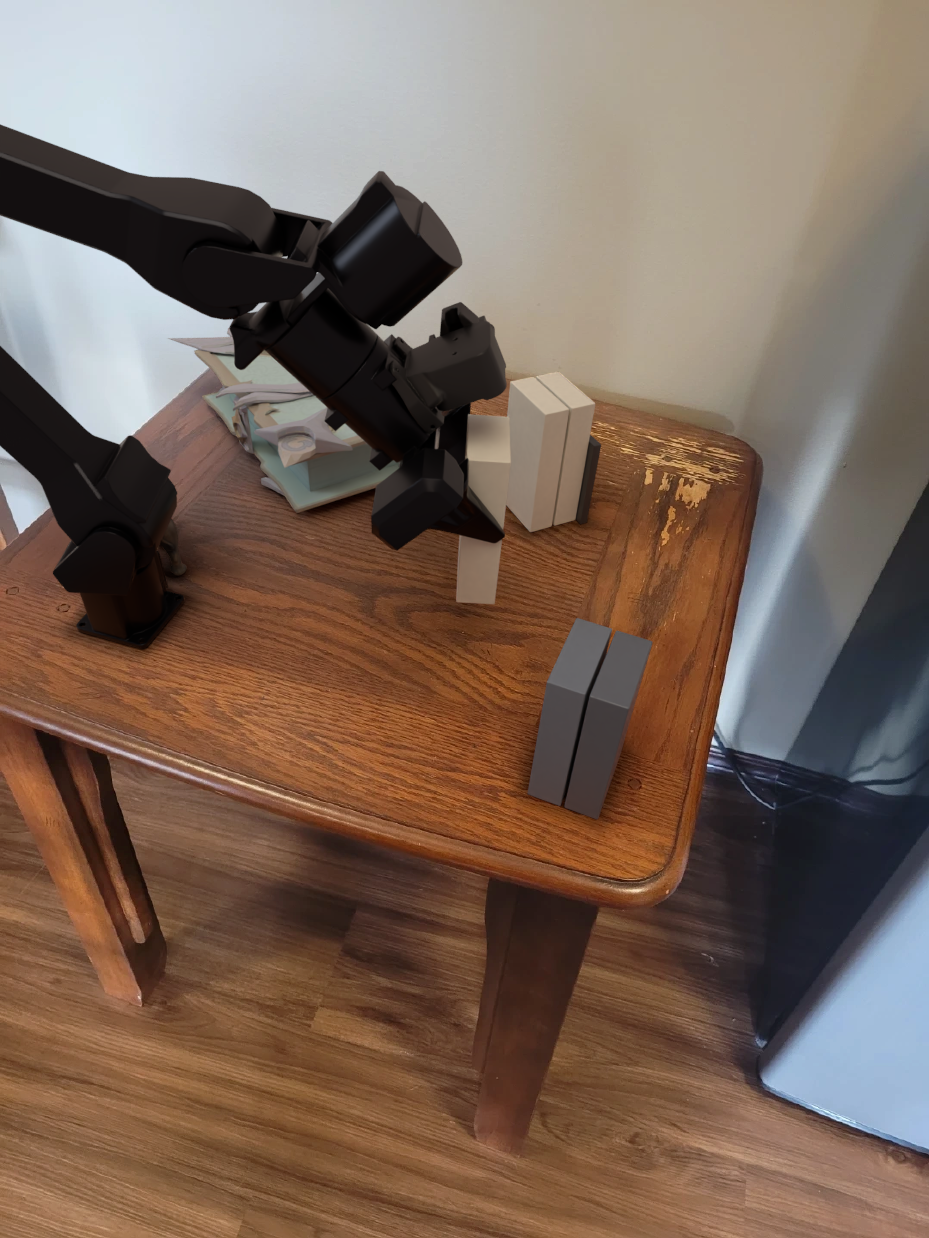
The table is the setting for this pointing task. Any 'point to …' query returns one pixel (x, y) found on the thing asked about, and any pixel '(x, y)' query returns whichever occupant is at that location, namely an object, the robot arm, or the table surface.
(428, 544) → the table surface
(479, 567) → the white book
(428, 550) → the table surface
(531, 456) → the white books
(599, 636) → the grey books
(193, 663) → the table surface
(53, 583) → the table surface
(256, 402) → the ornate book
